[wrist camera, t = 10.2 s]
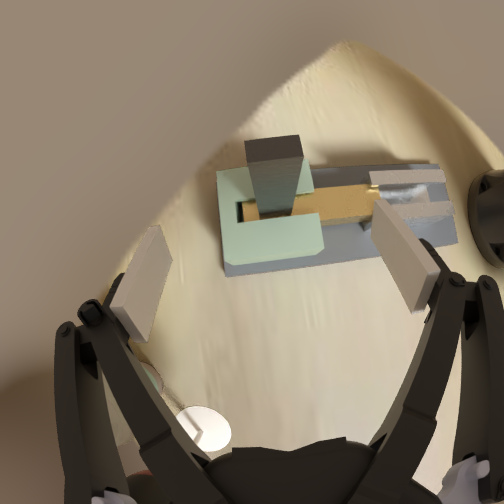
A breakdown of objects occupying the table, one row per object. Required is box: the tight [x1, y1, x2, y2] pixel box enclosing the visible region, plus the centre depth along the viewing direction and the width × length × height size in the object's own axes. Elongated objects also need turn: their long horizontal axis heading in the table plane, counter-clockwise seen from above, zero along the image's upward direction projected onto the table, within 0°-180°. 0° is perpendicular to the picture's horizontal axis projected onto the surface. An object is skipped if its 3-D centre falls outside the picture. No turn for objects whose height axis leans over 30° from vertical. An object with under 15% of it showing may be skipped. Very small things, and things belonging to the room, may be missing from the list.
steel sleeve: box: [359, 169, 455, 232], centre depth 26 cm, size 10×5×5 cm, turn 97°
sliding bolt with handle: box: [242, 135, 381, 227], centre depth 21 cm, size 14×3×15 cm, turn 97°
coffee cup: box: [102, 361, 163, 446], centre depth 24 cm, size 9×9×12 cm
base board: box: [216, 164, 458, 277], centre depth 30 cm, size 30×11×2 cm, turn 97°
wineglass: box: [126, 406, 231, 504], centre depth 19 cm, size 8×9×20 cm
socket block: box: [216, 159, 324, 266], centre depth 27 cm, size 9×9×5 cm
